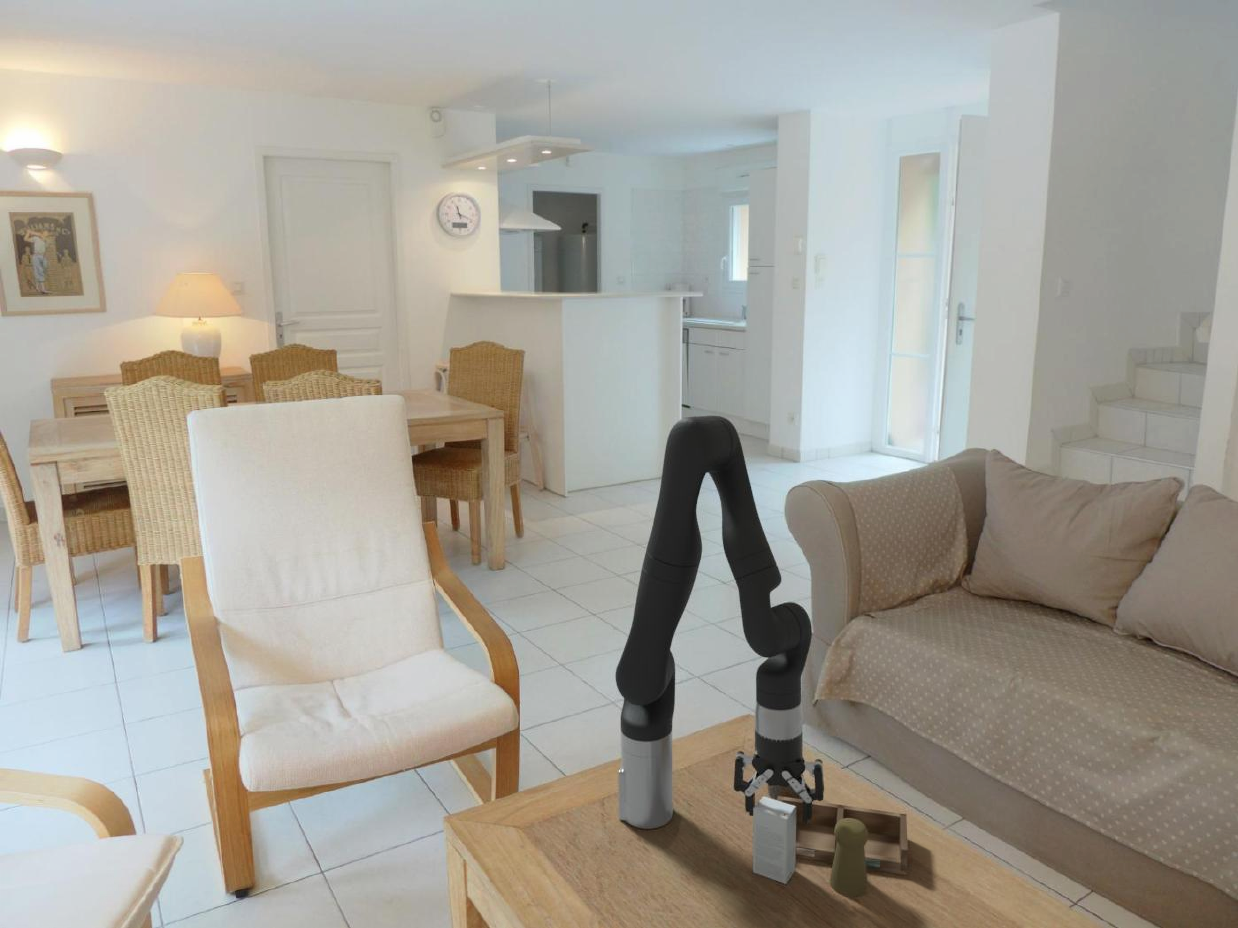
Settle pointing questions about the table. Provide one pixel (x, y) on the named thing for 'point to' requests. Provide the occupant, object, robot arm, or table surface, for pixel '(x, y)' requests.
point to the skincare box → (774, 839)
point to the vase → (782, 792)
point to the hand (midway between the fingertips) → (778, 816)
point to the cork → (849, 858)
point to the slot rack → (883, 828)
